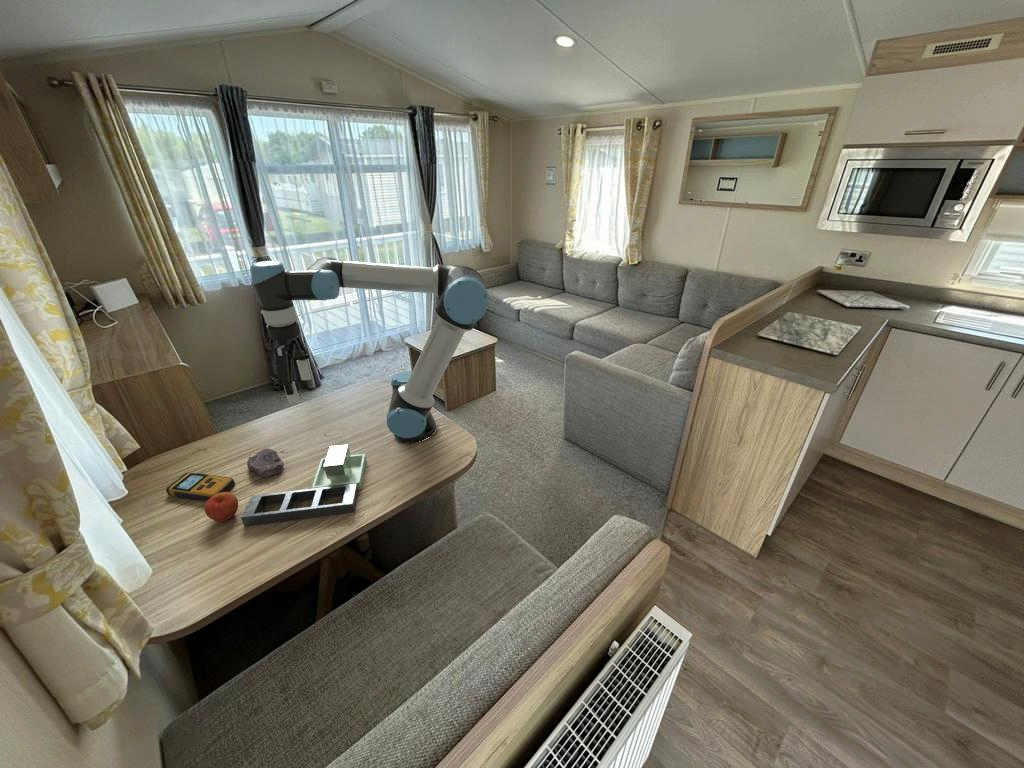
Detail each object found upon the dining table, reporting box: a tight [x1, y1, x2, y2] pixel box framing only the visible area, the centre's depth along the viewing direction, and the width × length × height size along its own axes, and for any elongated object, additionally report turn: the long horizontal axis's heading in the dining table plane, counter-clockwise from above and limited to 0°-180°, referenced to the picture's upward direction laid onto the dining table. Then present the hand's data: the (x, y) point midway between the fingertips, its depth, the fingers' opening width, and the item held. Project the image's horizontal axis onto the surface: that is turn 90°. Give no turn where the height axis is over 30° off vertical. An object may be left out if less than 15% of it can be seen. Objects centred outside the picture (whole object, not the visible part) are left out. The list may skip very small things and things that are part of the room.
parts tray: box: [311, 453, 367, 491], centre depth 123 cm, size 13×13×3 cm
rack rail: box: [240, 483, 360, 528], centre depth 111 cm, size 28×8×4 cm, turn 101°
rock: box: [246, 447, 285, 478], centre depth 125 cm, size 8×11×5 cm
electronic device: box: [165, 471, 236, 503], centre depth 117 cm, size 8×16×3 cm, turn 81°
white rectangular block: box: [324, 444, 352, 483], centre depth 121 cm, size 5×9×8 cm, turn 11°
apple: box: [203, 491, 239, 522], centre depth 107 cm, size 7×7×8 cm
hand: (300, 390), depth 116 cm, fingers open, 13 cm apart
